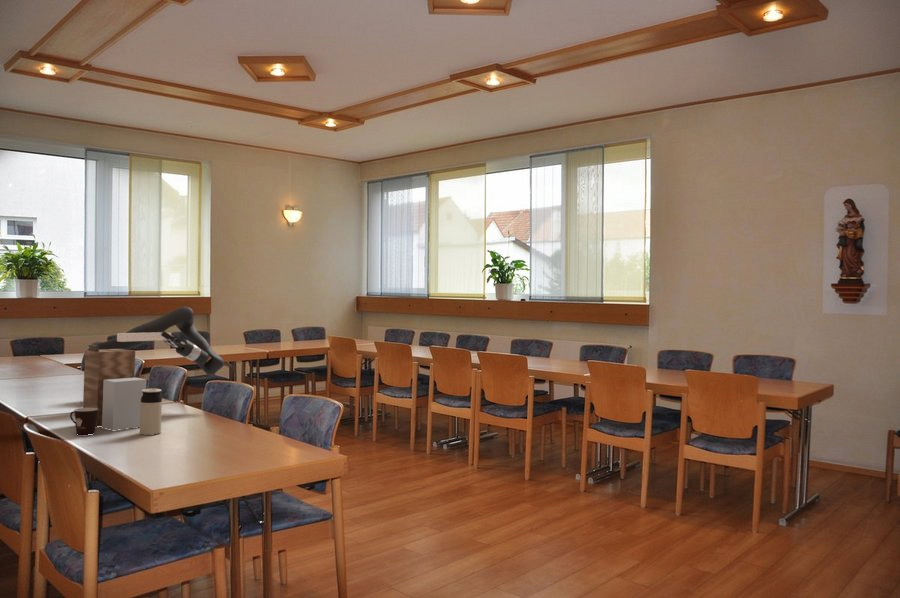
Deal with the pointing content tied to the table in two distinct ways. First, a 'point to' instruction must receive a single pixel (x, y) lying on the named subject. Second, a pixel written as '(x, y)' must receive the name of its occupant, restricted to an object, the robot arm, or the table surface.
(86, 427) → the coffee mug
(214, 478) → the table surface
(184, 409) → the table surface
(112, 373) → the walnut stand
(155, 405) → the travel mug
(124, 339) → the light wooden bar
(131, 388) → the grey block
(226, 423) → the table surface
